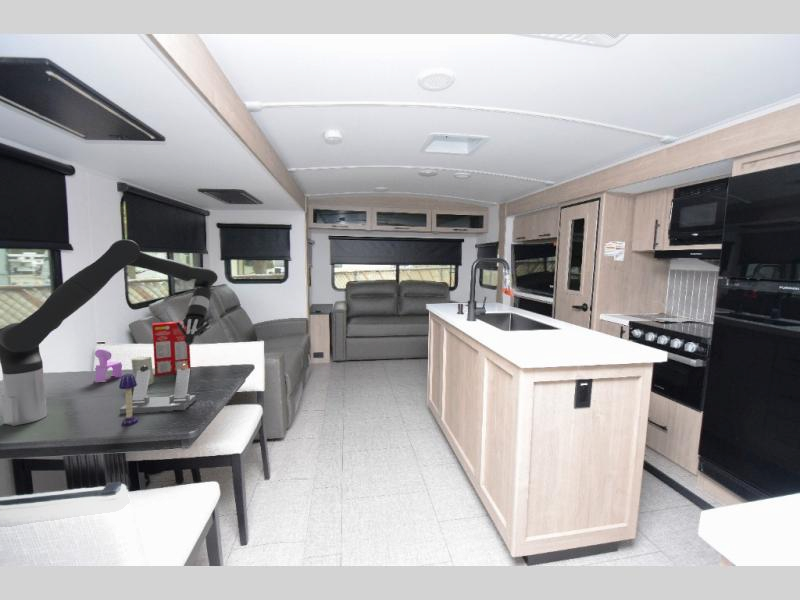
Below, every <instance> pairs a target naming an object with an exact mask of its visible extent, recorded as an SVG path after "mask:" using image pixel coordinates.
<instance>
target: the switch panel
mask: <svg viewBox="0 0 800 600" xmlns="http://www.w3.org/2000/svg"><path fill="white" fill-rule="evenodd" d="M196 399H197V398H196V394H195V395H194V394H192V395H191V394H189V393H187V395H186V399H176V400H174V394H172V395H169V396H156V397H150V396H148V395H146V397H145V398H144V400H145V401H138V402H132V414H143V413H144V414H146V413H147V412H149V413H160V412H159V411H166V412H174V411H173V410H183V411H186V408H187V407H188V406H189V405H190V404H191V405H192V404H193V403H194V402H195V401H196ZM191 405H190V406H191ZM190 406H189V407H190ZM189 407H188V408H189ZM188 408H187V409H188ZM126 410H127V409H126V404H125V405H123V406H121V407H120V408H119V415H126V414H127V413H126Z"/></svg>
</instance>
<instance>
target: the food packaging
mask: <svg viewBox="0 0 800 600" xmlns="http://www.w3.org/2000/svg"><path fill="white" fill-rule="evenodd" d="M178 322H179V323H181V322H183V320H181V321H168V322H167V321H165V322H153V323H152V324H151V325H152V341H153V343H152V345H153V360H154V363H153V364H154V377H157V375H158V376H163V375H164V374H165V375H171V374H170V373H172V374H177V370H178V369H180V367H181V365H183V364H186V365H188V368H189V369H190V370H191V368H192V367H191V365H192V364H191V351H190V350H191V349H190V346H191V345H187V344H186V343H185V338H186V336H184V335H183V334H182V332H181V331H180V329H179V328H178V326H177V325H176V323H178ZM183 329H184V330H185V331H187V327H186V326H185V324H184V327H183ZM191 371H192V370H191Z"/></svg>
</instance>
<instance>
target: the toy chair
mask: <svg viewBox="0 0 800 600" xmlns="http://www.w3.org/2000/svg"><path fill="white" fill-rule="evenodd" d="M94 357H96V358H98V362H99V364H96V365H95V369H94V370H95V378H94V380H93V382H94V381H96V382H95V383H98V382H106V383H107V381H106V380H107V379H106V375H107V371H108V370H109V369H110V368H111V369H112V371H111V372H112V373H111V375H110V377H111V376H115V377H114V378H122V376H123V373H122V372H123V371H122V370H123V369H122V367H123V364H122V361H110V360H111V358H112V353H111V352H110V351H109V350H107V349H102V348H101V349H100V348H99V349H96V350H95V352H94Z"/></svg>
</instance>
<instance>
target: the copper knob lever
mask: <svg viewBox="0 0 800 600" xmlns="http://www.w3.org/2000/svg"><path fill="white" fill-rule="evenodd" d="M190 374H191V371H190V369H189V368H188V365H186V364H183V365H181V367H180V369H178V370H177V373H176V379H175V383H174V384H175V385H174V391H173V395H174V400H176V399H186V395H187V394H188V391H189V389H188V388H189V381H190Z"/></svg>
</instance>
